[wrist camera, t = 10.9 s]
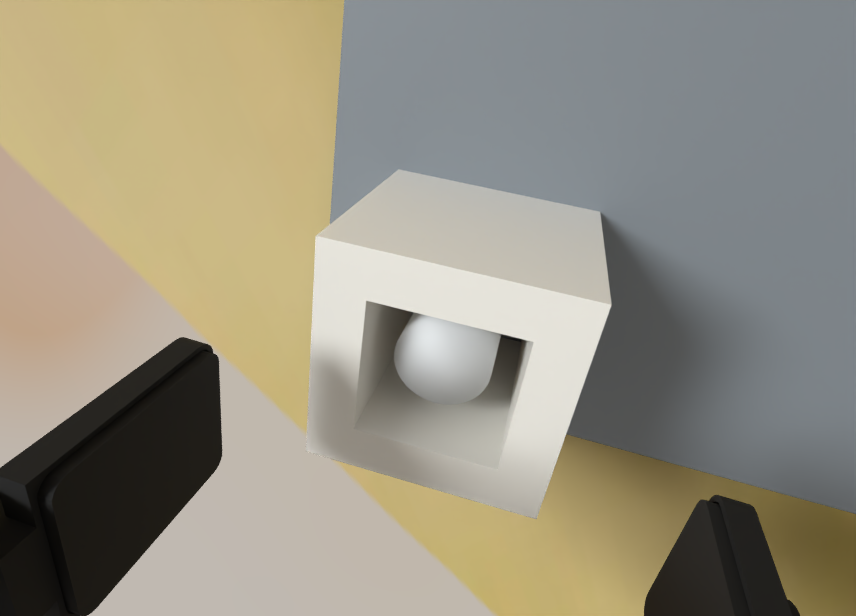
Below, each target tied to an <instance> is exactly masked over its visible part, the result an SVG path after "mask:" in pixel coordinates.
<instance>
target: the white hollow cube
mask: <svg viewBox="0 0 856 616" xmlns="http://www.w3.org/2000/svg"><path fill="white" fill-rule="evenodd" d="M611 305H612V304H611V296H610V288H609V280H608V272H607V263H606V255H605V247H604V239H603V231H602V223H601V215H600V212H599V211H594V210H590V209H585V208H580V207H575V206H571V205H566V204H561V203H556V202H552V201H547V200H542V199H537V198H533V197H528V196H523V195H518V194H514V193H509V192H504V191H499V190H495V189H490V188H485V187H480V186H476V185H471V184H466V183H461V182H457V181H452V180H447V179H442V178H438V177H433V176H428V175H423V174H419V173H414V172H409V171H404V170H400V169H398V170H397V171H396V172H395V173H393V174H392V175H391V176H390V177H388V178H387V179H386V180H385V181H383V182H382V183H381V184H380V185H378V186H377V187H376V188H375V189H374V190H372V191H371V192H370V193H369V194H367V195H366V196H365V197H364V198H362V199H361V200H360V201H359V202H357V203H356V204H355V205H354V206H352V207H351V208H350V209H349V210H347V211H346V212H345V213H344V214H342V215H341V216H340V217H339V218H337V219H336V220H335V221H334V222H332V223H331V224H330V225H329V226H327V227H326V228H325V229H324V230H322V231H321V232H320V233H319V234H317V235H316V244H315V266H314V288H313V310H312V332H311V354H310V376H309V398H308V420H307V442H306V443H307V444H306V452H309V453H313V454H316V455H320V456H323V457H327V458H330V459H333V460H337V461H340V462H343V463H347V464H350V465H354V466H357V467H360V468H364V469H367V470H371V471H374V472H377V473H381V474H384V475H388V476H391V477H394V478H398V479H401V480H405V481H408V482H411V483H415V484H418V485H422V486H425V487H428V488H432V489H435V490H439V491H442V492H445V493H449V494H452V495H456V496H459V497H462V498H466V499H469V500H473V501H476V502H479V503H483V504H486V505H490V506H493V507H496V508H500V509H503V510H507V511H510V512H513V513H517V514H520V515H524V516H527V517H530V518H534V519H537V516H538V513H539V510H540V507H541V504H542V502H543V499H544V496H545V493H546V490H547V487H548V484H549V482H550V479H551V476H552V473H553V470H554V467H555V464H556V462H557V459H558V456H559V453H560V450H561V447H562V445H563V442H564V439H565V436H566V433H567V430H568V427H569V425H570V422H571V419H572V416H573V413H574V410H575V408H576V405H577V402H578V399H579V396H580V393H581V390H582V388H583V385H584V382H585V379H586V376H587V373H588V371H589V368H590V365H591V362H592V359H593V356H594V353H595V351H596V348H597V345H598V342H599V339H600V336H601V334H602V331H603V328H604V325H605V322H606V319H607V316H608V314H609V311H610V308H611ZM414 312H415V313H419V314H423V315H427V316H431V317H435V318H439V319H443V320H447V321H451V322H455V323H459V324H463V325H467V326H471V327H475V328H479V329H483V330H487V331H491V332H495V333H499V334H503V335H507V336H511V337H515V338H519V339H521V342H518V341H514V340H510V339H506V338H502V337H501V338H500V342H499V346H498V350H497V354H496V358H495V362H494V366H493V371H492V375H491V378H490V381H489V383H488V385H487V387H486V388H485V389H484V391H483V392H482V393H481V394H480V395H478V396H477V397H476V398H474V399H472V400H470V401H468V402H465V403H461V404H454V405H445V404H438V403H434V402H431V401H428V400H426V399H424V398H422V397H420V396H418V395H417V394H415V393H414V392H413V391H411V390H410V389H409V388H408V387H407V386H406V385H405V383H404V382H403V381H402V379H401V378H400V376H399V374H398V372H397V370H396V367H395V362H394V350H395V346H396V343H397V341H398V339H399V337H400V335H401V334H402V332H403V330H404V328H405V327H406V325H407V323H408V321H409V320H410V318H411V316H412V314H413V313H414Z"/></svg>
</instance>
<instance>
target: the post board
mask: <svg viewBox="0 0 856 616" xmlns="http://www.w3.org/2000/svg"><path fill="white" fill-rule="evenodd" d="M398 169H400V170H404V171H409V172H414V173H419V174H423V175H428V176H433V177H438V178H442V179H447V180H452V181H457V182H461V183H466V184H471V185H476V186H480V187H485V188H490V189H495V190H499V191H504V192H509V193H514V194H518V195H523V196H528V197H533V198H537V199H542V200H547V201H552V202H556V203H561V204H566V205H571V206H575V207H580V208H585V209H590V210H594V211H599V212H600V215H601V223H602V231H603V239H604V247H605V255H606V263H607V272H608V280H609V288H610V296H611V304H612V305H611V308H610V311H609V314H608V316H607V319H606V322H605V325H604V328H603V331H602V334H601V336H600V339H599V342H598V345H597V348H596V351H595V353H594V356H593V359H592V362H591V365H590V368H589V371H588V373H587V376H586V379H585V382H584V385H583V388H582V390H581V393H580V396H579V399H578V402H577V405H576V408H575V410H574V413H573V416H572V419H571V422H570V425H569V427H568V430H567V433H566V434H567V435H571V436H575V437H578V438H582V439H585V440H589V441H593V442H596V443H600V444H604V445H607V446H611V447H615V448H618V449H622V450H625V451H629V452H633V453H636V454H640V455H644V456H647V457H651V458H654V459H658V460H662V461H665V462H669V463H673V464H676V465H680V466H684V467H687V468H691V469H694V470H698V471H702V472H705V473H709V474H713V475H716V476H720V477H723V478H727V479H731V480H734V481H738V482H742V483H745V484H749V485H753V486H756V487H760V488H763V489H767V490H771V491H774V492H778V493H782V494H785V495H789V496H792V497H796V498H800V499H803V500H807V501H811V502H814V503H818V504H822V505H825V506H829V507H832V508H836V509H840V510H843V511H847V512H851V513H854V514H856V0H345V1H344V16H343V31H342V47H341V62H340V77H339V93H338V108H337V124H336V139H335V154H334V170H333V185H332V201H331V216H330V224H331V223H332V222H334V221H335V220H336V219H337V218H339V217H340V216H341V215H342V214H344V213H345V212H346V211H347V210H349V209H350V208H351V207H352V206H354V205H355V204H356V203H357V202H359V201H360V200H361V199H362V198H364V197H365V196H366V195H367V194H369V193H370V192H371V191H372V190H374V189H375V188H376V187H377V186H378V185H380V184H381V183H382V182H383V181H385V180H386V179H387V178H388V177H390V176H391V175H392V174H393V173H395V172H396V171H397V170H398ZM501 337H502V338H506V339H510V340H514V341H518V342H521V339H519V338H515V337H511V336H507V335H503V334H499V333H495V332H491V331H487V330H483V329H479V328H475V327H471V326H467V325H463V324H459V323H455V322H451V321H447V320H443V319H439V318H435V317H431V316H427V315H423V314H419V313H415V312H414V313H413V314H412V316H411V318H410V320H409V321H408V323H407V325H406V327H405V328H404V330H403V332H402V334H401V335H400V337H399V339H398V341H397V343H396V346H395V350H394V362H395V367H396V370H397V372H398V374H399V376H400V378H401V379H402V381H403V382H404V383H405V385H406V386H407V387H408V388H409V389H410V390H411V391H413V392H414V393H415V394H417V395H418V396H420V397H422V398H424V399H426V400H428V401H431V402H434V403H438V404H445V405H454V404H461V403H465V402H468V401H470V400H472V399H474V398H476V397H477V396H478V395H480V394H481V393H482V392H483V391H484V389H485V388H486V387H487V385H488V383H489V381H490V378H491V375H492V371H493V366H494V362H495V358H496V354H497V350H498V346H499V342H500V338H501Z"/></svg>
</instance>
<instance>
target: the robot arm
mask: <svg viewBox="0 0 856 616" xmlns="http://www.w3.org/2000/svg"><path fill="white" fill-rule="evenodd" d="M221 457H222V435H221V408H220V381H219V359H218V356H217V355H216V354H213V349H212V348H211V346H210V345H208V344H205V343H201V342H198V341H195V340H191V339H188V338H184V337H182V338H179V339H177V340H175V341H174V342H172V343H171V344H170V345H168V346H167V347H165V348H164V349H163V350H161V351H160V352H159V353H157V354H156V355H154V356H153V357H152V358H150V359H149V360H148V361H146V362H145V363H144V364H142V365H141V366H139V367H138V368H137V369H135V370H134V371H132V372H131V373H130V374H128V375H127V376H126V377H124V378H123V379H121V380H120V381H119V382H117V383H116V384H115V385H113V386H112V387H111V388H109V389H108V390H106V391H105V392H104V393H102V394H101V395H100V396H98V397H97V398H96V399H94V400H93V401H92V402H90V403H89V404H87V405H86V406H84V407H83V408H82V409H81V410H79V411H78V412H76V413H75V414H73V415H72V416H71V417H70V418H68V419H67V420H65V421H64V422H63V423H61V424H60V425H58V426H57V427H56V428H54V429H53V430H52V431H50V432H49V433H47V434H46V435H45V436H43V437H42V438H41V439H39V440H38V441H36V442H35V443H34V444H32V445H31V446H30V447H28V448H27V449H25V450H24V451H23V452H21V453H20V454H19V455H17V456H16V457H14V458H13V459H12V460H10V461H9V462H8V463H6V464H5V465H4V466H2V467H1V468H0V616H87V615H89V614H90V613H92V612H93V611H94V610H95V609H96V608H97V607H98V606H99V604H100V603H101V602H102V601H103V600H104V599H105V598H106V596H107V595H108V594H109V593H110V592H111V591H112V590H113V588H114V587H115V586H116V585H117V584H118V582H119V581H120V580H121V579H122V578H123V577H124V576H125V574H126V573H127V572H128V571H129V570H130V569H131V567H132V566H133V565H134V564H135V563H136V562H137V561H138V559H139V558H140V557H141V556H142V555H143V553H145V551H146V550H147V549H148V548H149V547H150V545H151V544H152V543H153V542H154V541H155V540H156V539H157V538H158V536H159V535H160V534H161V533H162V532H163V530H164V529H165V528H166V527H167V526H168V525H169V524H170V523H171V521H172V520H173V519H174V518H175V517H176V516H177V514H178V513H179V512H180V511H181V510H182V509H183V507H184V506H185V505H186V504H187V503H188V501H190V499H191V498H192V497H193V496H194V495H195V494H196V492H197V491H198V490H199V489H200V488H201V487H202V486H203V484H204V483H205V482H206V481H207V480H208V479H209V477H210V476H211V475H212V474H213V473H214V472H215V470H216V469H217V467H218V465H219V463H220V460H221ZM644 616H800V614H799V612H798V610H797V608H796V607H795V605H794V604H793V603H792V602H791V601H790V600H787V598H786V595H785V593H784V590H783V587H782V584H781V581H780V578H779V576H778V573H777V570H776V567H775V564H774V561H773V558H772V556H771V553H770V550H769V547H768V544H767V541H766V538H765V536H764V533H763V530H762V527H761V524H760V521H759V518H758V516H757V513H756V511H755V509H754V507H753V506H751V505H750V504H746V503H743V502H739V501H736V500H733V499H729V498H726V497H722V496H719V495H714V496H713V497H711V499H710V500H709V501H706V500H700V501H699V502H698V503H697V505H696V507H695V509H694V510H693V512H692V514H691V516H690V518H689V519H688V521H687V523H686V525H685V527H684V529H683V530H682V532H681V534H680V536H679V538H678V539H677V541H676V543H675V545H674V547H673V549H672V550H671V552H670V554H669V556H668V558H667V559H666V561H665V563H664V565H663V567H662V568H661V570H660V572H659V574H658V576H657V578H656V579H655V581H654V583H653V585H652V587H651V588H650V590H649V592H648V594H647V597H646V601H645V606H644Z"/></svg>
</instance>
